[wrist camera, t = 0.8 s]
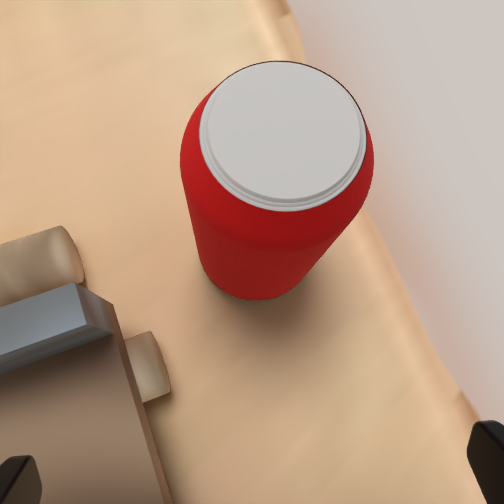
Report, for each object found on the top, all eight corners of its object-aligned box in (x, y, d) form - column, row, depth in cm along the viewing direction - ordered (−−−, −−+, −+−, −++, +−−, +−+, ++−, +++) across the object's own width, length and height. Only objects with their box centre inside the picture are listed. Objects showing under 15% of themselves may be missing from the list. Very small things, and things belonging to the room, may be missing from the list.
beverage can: (175, 259, 23) (125, 144, 11) (243, 177, 24) (261, 2, 13) (266, 327, 22) (313, 280, 10) (330, 238, 24) (432, 112, 12)
